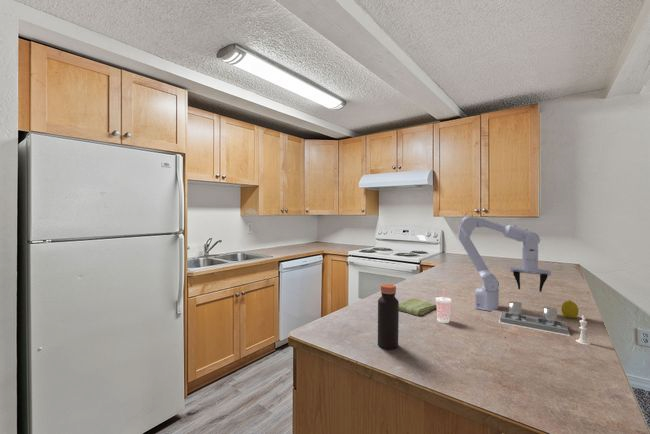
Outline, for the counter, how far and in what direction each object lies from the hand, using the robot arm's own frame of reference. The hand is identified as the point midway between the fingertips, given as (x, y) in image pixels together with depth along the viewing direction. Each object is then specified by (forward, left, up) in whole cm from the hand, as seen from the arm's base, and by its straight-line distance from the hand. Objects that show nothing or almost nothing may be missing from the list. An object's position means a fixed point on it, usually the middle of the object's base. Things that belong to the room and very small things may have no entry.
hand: (529, 289), depth 131 cm
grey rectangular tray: (+1, -17, -10) cm, 20 cm away
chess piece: (+15, -27, -11) cm, 33 cm away
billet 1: (-5, -17, -9) cm, 20 cm away
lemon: (+14, +1, -11) cm, 17 cm away
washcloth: (-43, -22, -11) cm, 50 cm away
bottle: (-39, -65, -11) cm, 77 cm away
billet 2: (+6, -17, -9) cm, 20 cm away
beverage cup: (-29, -31, -11) cm, 44 cm away
